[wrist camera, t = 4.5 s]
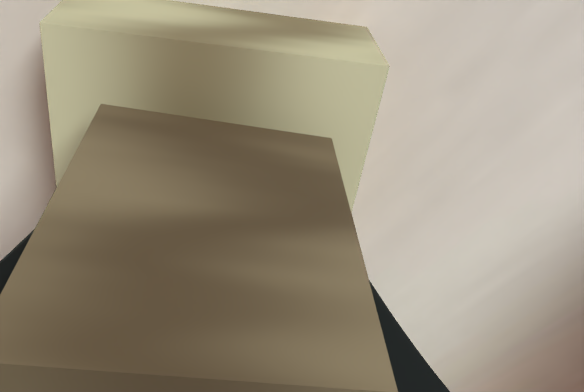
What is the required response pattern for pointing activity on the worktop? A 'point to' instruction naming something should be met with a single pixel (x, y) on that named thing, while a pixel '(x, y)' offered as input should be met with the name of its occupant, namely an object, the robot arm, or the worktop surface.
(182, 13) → the oak block
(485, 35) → the worktop surface
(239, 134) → the walnut block
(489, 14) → the worktop surface
